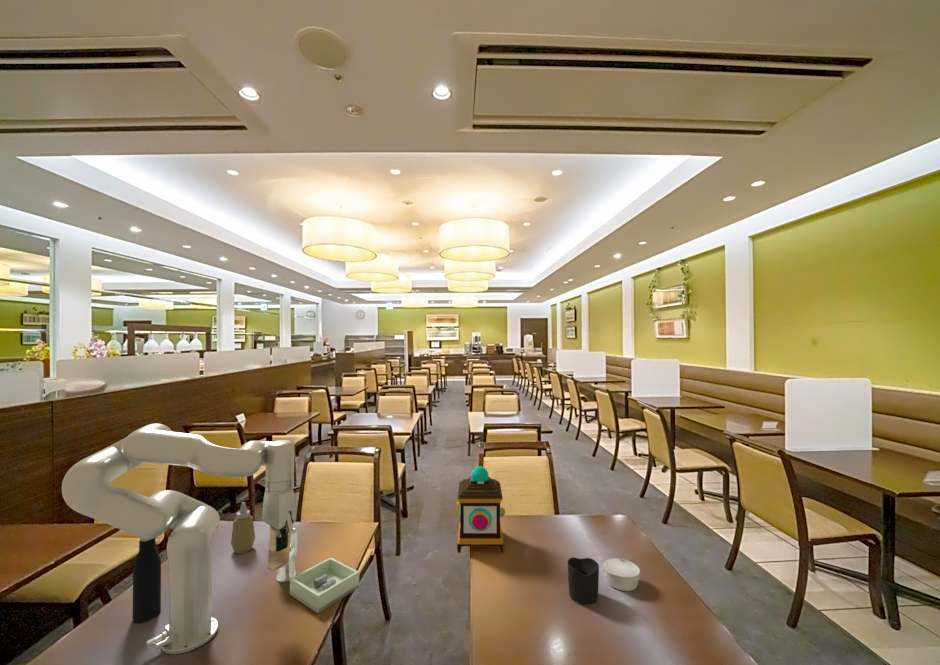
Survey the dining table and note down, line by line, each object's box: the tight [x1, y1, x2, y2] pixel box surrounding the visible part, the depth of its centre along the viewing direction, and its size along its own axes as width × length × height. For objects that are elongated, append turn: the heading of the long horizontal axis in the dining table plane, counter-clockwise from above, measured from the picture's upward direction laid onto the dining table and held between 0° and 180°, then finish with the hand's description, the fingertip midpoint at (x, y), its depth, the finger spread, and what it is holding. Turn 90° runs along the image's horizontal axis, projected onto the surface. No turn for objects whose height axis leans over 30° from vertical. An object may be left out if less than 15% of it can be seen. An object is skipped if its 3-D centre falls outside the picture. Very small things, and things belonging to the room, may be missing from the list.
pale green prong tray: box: [289, 557, 360, 614], centre depth 128 cm, size 15×15×5 cm
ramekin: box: [603, 557, 641, 592], centre depth 132 cm, size 11×11×5 cm
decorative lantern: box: [454, 465, 506, 554], centre depth 159 cm, size 20×20×30 cm
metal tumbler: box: [275, 527, 298, 583], centre depth 136 cm, size 7×7×15 cm
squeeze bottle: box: [230, 501, 256, 554], centre depth 154 cm, size 8×8×18 cm
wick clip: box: [314, 574, 336, 591], centre depth 128 cm, size 4×6×2 cm
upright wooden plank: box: [267, 527, 291, 572], centre depth 116 cm, size 5×2×11 cm, turn 145°
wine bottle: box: [132, 537, 162, 624], centre depth 117 cm, size 6×6×30 cm
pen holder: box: [567, 556, 600, 605], centre depth 125 cm, size 9×9×10 cm
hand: (279, 547), depth 116 cm, fingers closed on upright wooden plank, 2 cm apart
